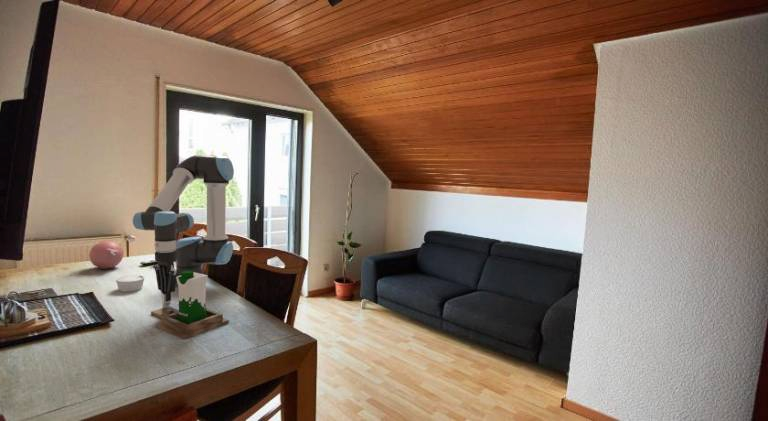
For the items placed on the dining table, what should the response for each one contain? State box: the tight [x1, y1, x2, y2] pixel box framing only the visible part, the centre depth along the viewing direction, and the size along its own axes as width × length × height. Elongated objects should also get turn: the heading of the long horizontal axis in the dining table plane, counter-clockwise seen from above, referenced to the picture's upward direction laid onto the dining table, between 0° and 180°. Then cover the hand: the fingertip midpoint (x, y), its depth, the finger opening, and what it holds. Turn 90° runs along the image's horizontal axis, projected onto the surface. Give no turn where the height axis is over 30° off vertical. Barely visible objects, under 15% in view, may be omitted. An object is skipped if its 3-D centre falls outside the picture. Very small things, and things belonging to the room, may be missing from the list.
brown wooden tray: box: [150, 302, 230, 340], centre depth 150 cm, size 18×31×4 cm, turn 60°
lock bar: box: [163, 301, 179, 317], centre depth 152 cm, size 4×10×4 cm, turn 60°
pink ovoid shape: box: [88, 240, 124, 270], centre depth 212 cm, size 15×20×15 cm
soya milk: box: [176, 270, 209, 324], centre depth 145 cm, size 9×9×20 cm
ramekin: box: [115, 274, 145, 293], centre depth 183 cm, size 11×11×5 cm
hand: (166, 308), depth 155 cm, fingers closed
